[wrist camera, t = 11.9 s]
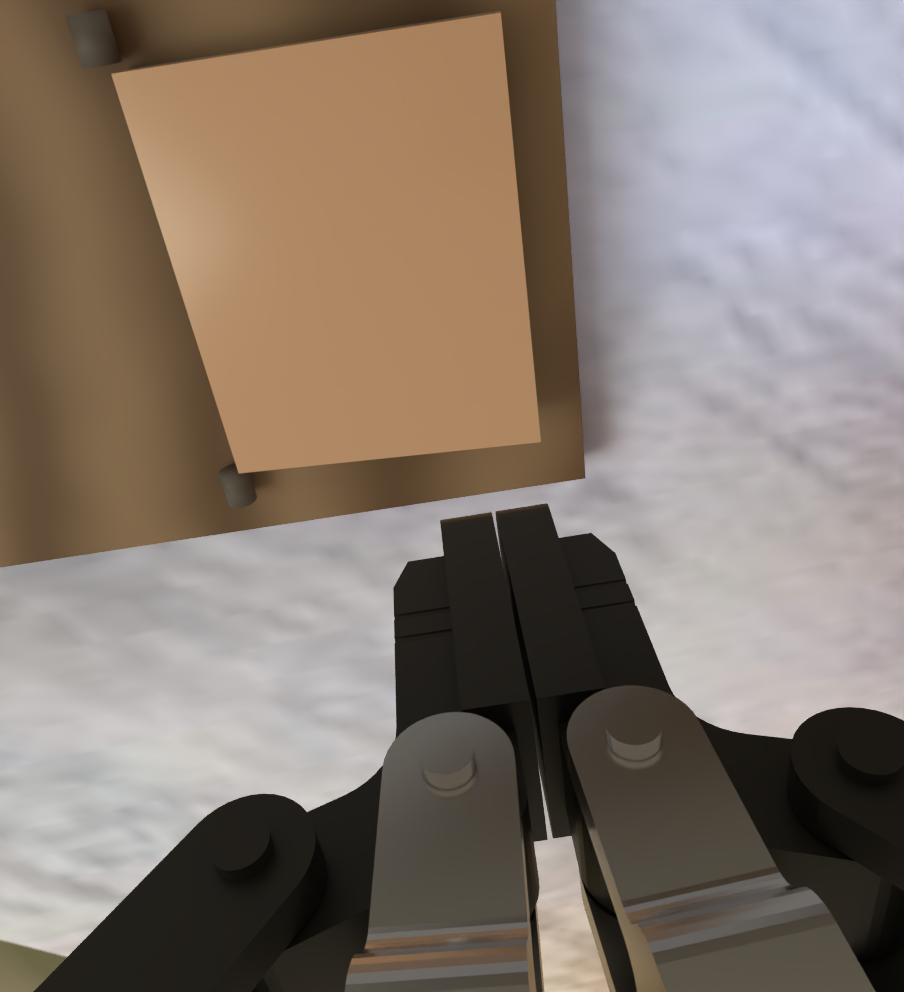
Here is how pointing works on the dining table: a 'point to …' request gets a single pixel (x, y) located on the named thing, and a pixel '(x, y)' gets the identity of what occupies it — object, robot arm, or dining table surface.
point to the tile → (347, 239)
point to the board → (158, 300)
